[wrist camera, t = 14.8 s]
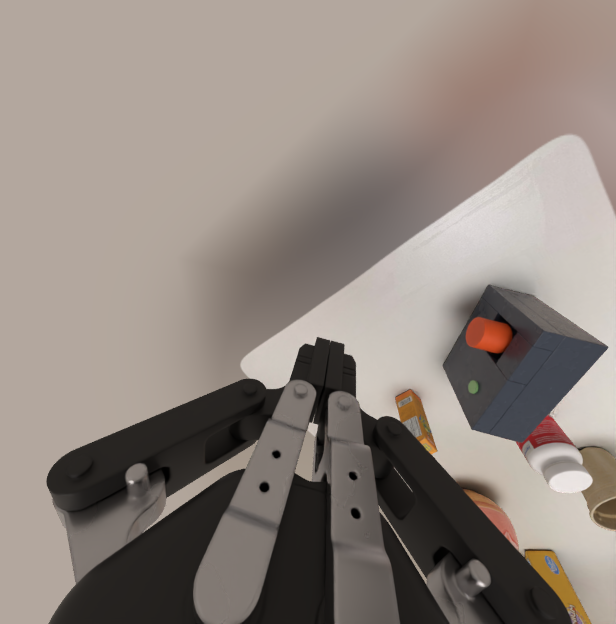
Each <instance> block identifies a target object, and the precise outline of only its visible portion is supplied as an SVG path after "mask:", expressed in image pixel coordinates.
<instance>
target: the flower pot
mask: <svg viewBox="0 0 616 624" xmlns="http://www.w3.org/2000/svg"><path fill="white" fill-rule="evenodd" d="M579 452H580V453H581V455H582V458H583V463H582V466H583V467H584V468H585V469H586V470H587V471H588V473H589V474H590V476H591V477H592V480H593V481H592V484H591V485H590V486H589V487H588V488H587V489H585V490H583V491H581V492H582V494H583V496H584V497H585V499H586V501H587V506H588V509H589V511H590V513H589V514H590V518H591V519H592V521H593V522H594V523H595V524H596V525H598V526H599V527H601V528H604V529H607V530H611V531H616V459H615V458H614V457H613V456H612V455H611V454H610V453H609V452H607V451H606V450H604V449H601V448H595V447H587V448H584V449H583V450H580V451H579Z"/></svg>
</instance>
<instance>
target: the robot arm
mask: <svg viewBox="0 0 616 624" xmlns="http://www.w3.org/2000/svg"><path fill="white" fill-rule="evenodd" d="M314 415H315V416H314ZM313 418H314V422H313V423H314V424H318V431H317V434H316V437H315V442H314V457H313V474H312V482H311V481H307V480H305V479H303V478H302V477H300V476H299V475H297V474H295V469H296V465H297V461H298V458H299V455H300V451H301V448H302V444H303V441H304V437H305V433H306V431H307V428H308V425H309V422H311V423H312V421H313ZM256 440H259V441H258V443H257V445H256V447H255V450H254V452H253V454H252V456H251V458H250V461H249V463H248V465H247V467H246V469H241V470H237V471H234V472H232V473H229V474H227V475H226V476H223V477H222V478H220V479H219V480H218V481H216V482H215V483H213V484H212V485H210V486H209V487H208V488H206V489H205V490H203V491H202V492H201V493H199V494H198V495H196V496H195V497H193V498H192V499H190V500H189V501H188V502H186V503H185V504H183V505H182V506H180V507H179V508H178V509H176V510H175V511H173V512H172V513H171V514H169V515H168V516H166V517H165V518H163V519H162V520H161V521H159V522H158V523H156V524H155V525H153V526H152V527H151V528H150V529H148V530H146V531H145V532H144V533H143V531H144V530H145V529H146V528H147V527H148V526H150V525H151V524H152V523H153V522H155V521H156V520H157V518H158V517H159V516H160V515H161V513H162V512H163V510H164V507H165V504H166V498H167V497H169V496H170V495H172V494H174V493H175V492H177V491H178V490H180V489H182V488H183V487H185V486H186V485H188V484H190V483H191V482H193V481H195V480H196V479H198V478H199V477H201V476H203V475H204V474H206V473H207V472H209V471H211V470H212V469H214V468H215V467H217V466H219V465H220V464H222V463H224V462H225V461H227V460H229V459H230V458H232V457H233V456H235V455H237V454H238V453H240V452H241V451H243V450H245V449H246V448H248V447H250V446H251V445H253V444H254V443H255V442H256ZM394 468H395V469H396V470H397V471H398V473H399V474H400V475H401V476H400V475H399V474H398V473H397V471H396V470H395V469H394ZM401 477H402V478H403V479H404V480H403V479H402V478H401ZM404 481H405V482H406V483H407V484H406V483H405V482H404ZM407 485H408V486H409V487H410V488H411V490H412V491H413V492H412V491H411V490H410V488H409V487H408V486H407ZM47 486H48V489H49V491H50V493H51V495H52V497H53V505H54V507H55V509H56V511H57V514H58V516H59V518H60V520H61V522H62V524H63V526H64V527H65V528H66V530H67V536H68V541H69V546H70V552H71V558H72V564H73V570H74V576H75V581H76V585H75V586H74V587H73V588H72V590H71V591H70V592H69V593H68V594H67V596H66V597H65V598H64V600H63V601H62V602H61V604H60V605H59V607H58V609H57V610H56V612H55V613H54V615H53V616H52V618H51V620H50V622H49V624H572V621H571V618H570V615H569V613H568V611H567V609H566V607H565V605H564V604H563V602H562V601H561V599H560V598H559V596H558V595H557V594H556V592H555V591H554V590H553V589H552V588H551V587H550V586H549V584H548V583H547V582H546V581H545V580H544V579H543V578H542V577H541V576H540V574H539V573H538V572H537V571H536V570H535V569H534V568H533V567H532V566H531V565H530V563H529V562H528V561H527V560H526V559H525V558H524V557H523V556H522V555H521V553H520V552H519V551H518V550H517V549H516V548H515V547H514V546H513V545H512V544H511V542H510V541H509V540H508V539H507V538H506V537H505V536H504V535H503V534H502V532H501V531H500V530H499V529H498V528H497V527H496V526H495V525H494V524H493V522H492V521H491V520H490V519H489V518H488V517H487V516H486V515H485V514H484V513H483V511H482V510H481V509H480V508H479V507H478V506H477V505H476V504H475V503H474V501H473V500H472V499H471V498H470V497H469V496H468V495H467V494H466V493H465V491H464V490H463V489H462V488H461V487H460V486H459V485H458V484H457V483H456V482H455V480H454V479H453V478H452V477H451V476H450V475H449V474H448V473H447V472H446V470H445V469H444V468H443V467H442V466H441V465H440V464H439V463H438V462H437V461H436V459H435V458H434V457H433V456H432V455H431V454H430V453H429V452H428V451H427V449H426V448H425V447H424V446H423V445H422V444H421V443H420V442H419V441H418V439H417V438H416V437H415V436H414V435H413V434H412V433H411V432H410V431H409V430H408V428H407V427H406V426H405V425H404V424H403V423H402V422H400V421H399V420H397V419H395V418H393V417H389V416H384V417H381V418H379V419H378V420H377V419H375V418H373V417H371V416H369V415H368V414H366V413H365V412H364V411H363V410H362V409H361V408H360V405H359V402H358V401H357V399H356V363H355V361H354V359H353V357H352V356H351V355H347V354H344V344H342V343H338V342H334V341H331V342H330V340H326V339H323V338H319V337H317V339H316V343H315V346H313V345H309V344H304V345H303V346H302V347H301V348H300V349H299V352H298V356H297V359H296V362H295V365H294V368H293V371H292V374H291V378H290V381H289V382H288V383H287V384H286V386H284V387H282V388H279V389H266V387H265V386H264V384H263V383H261V382H260V381H258V380H255V379H243V380H240V381H238V382H235V383H233V384H231V385H228V386H226V387H223V388H221V389H219V390H216V391H214V392H212V393H209V394H207V395H204V396H202V397H199V398H197V399H195V400H192V401H190V402H188V403H185V404H183V405H180V406H178V407H176V408H173V409H171V410H168V411H166V412H164V413H161V414H159V415H156V416H154V417H152V418H149V419H147V420H145V421H142V422H140V423H137V424H135V425H132V426H130V427H128V428H126V429H123V430H121V431H118V432H116V433H113V434H111V435H109V436H106V437H104V438H101V439H99V440H97V441H94V442H92V443H89V444H87V445H85V446H82V447H80V448H78V449H75V450H73V451H71V452H69V453H68V454H66V455H65V456H63V457H62V458H61V459H59V460H58V461H57V462H56V463H55V464H54V465H53V467H52V468H51V470H50V471H49V473H48V476H47ZM378 505H379V506H380V508H381V509H382V511H383V512H384V514H385V515H386V517H387V519H388V520H389V522H390V523H391V525H392V526H393V528H394V529H395V531H396V532H397V534H398V535H399V537H400V538H401V540H402V542H403V543H404V545H405V546H406V548H407V549H408V551H409V552H410V554H411V555H412V557H413V558H414V560H415V561H416V563H417V564H418V566H419V567H420V569H421V571H422V572H423V574H424V575H425V577H426V578H427V585H426V584H425V582H424V580H423V579H422V577H421V575H420V574H419V572H418V571H417V569H416V567H415V566H414V564H413V562H412V561H411V559H410V557H409V556H408V554H407V552H406V551H405V549H404V548H403V546H402V544H401V543H400V541H399V539H398V538H397V536H396V534H395V533H394V531H393V529H392V528H391V526H390V525H389V523H388V522H387V521H386V519H385V518H384V517H383V515H382V514H381V513H380V512H379V506H378Z"/></svg>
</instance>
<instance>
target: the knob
mask: <svg viewBox="0 0 616 624" xmlns="http://www.w3.org/2000/svg"><path fill="white" fill-rule="evenodd" d="M511 341H512V329H511V327H510V326H509V325H508V324H505V323H501V322H497V321H493V320H489V319H485V318H481V317H477V318H474V319H473V320H472V321H471V322H470V324H469V326H468V328H467V331H466V342H467V344H468V345H469V346H470V347H473V348H477V349H481V350H485V351H489V352H493V353H497V354H500V353H503V352H504V351H505V350H506V348H507V347H508V345H509V344H510V342H511Z"/></svg>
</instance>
